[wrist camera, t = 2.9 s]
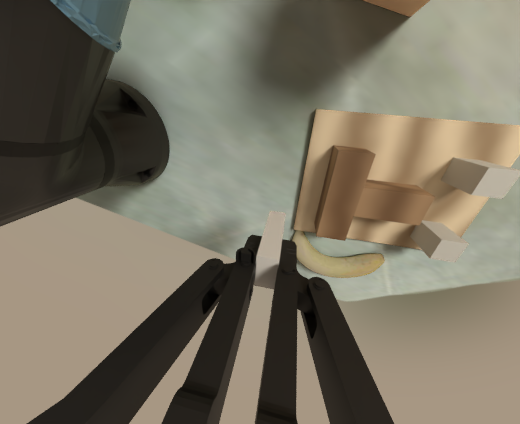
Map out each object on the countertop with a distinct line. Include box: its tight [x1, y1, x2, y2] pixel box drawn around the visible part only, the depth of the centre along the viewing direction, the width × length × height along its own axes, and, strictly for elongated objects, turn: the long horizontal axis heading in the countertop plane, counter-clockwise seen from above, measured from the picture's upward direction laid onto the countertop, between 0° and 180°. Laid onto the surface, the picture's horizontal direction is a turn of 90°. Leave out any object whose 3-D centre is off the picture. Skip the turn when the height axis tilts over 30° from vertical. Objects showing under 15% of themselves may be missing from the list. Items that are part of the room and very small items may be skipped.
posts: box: [410, 157, 520, 262], centre depth 24 cm, size 3×12×5 cm, turn 176°
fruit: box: [292, 230, 385, 278], centre depth 33 cm, size 7×15×3 cm, turn 77°
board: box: [294, 109, 520, 249], centre depth 27 cm, size 24×18×1 cm
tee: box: [314, 145, 435, 241], centre depth 26 cm, size 12×12×4 cm
